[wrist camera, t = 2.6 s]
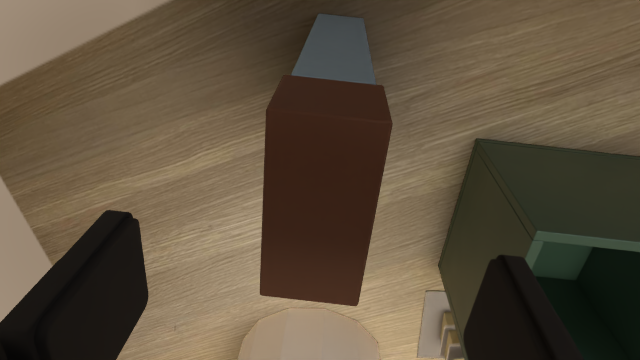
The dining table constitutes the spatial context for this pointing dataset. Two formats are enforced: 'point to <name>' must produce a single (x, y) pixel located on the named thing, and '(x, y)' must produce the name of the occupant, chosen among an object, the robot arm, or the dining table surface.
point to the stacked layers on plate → (438, 329)
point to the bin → (553, 238)
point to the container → (308, 337)
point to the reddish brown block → (321, 187)
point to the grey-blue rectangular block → (336, 51)
